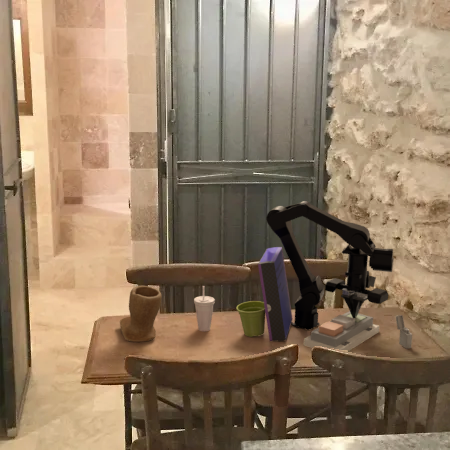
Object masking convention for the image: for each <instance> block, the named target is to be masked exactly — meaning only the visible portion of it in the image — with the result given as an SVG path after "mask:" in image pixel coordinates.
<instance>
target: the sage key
mask: <svg viewBox="0 0 450 450" xmlns="http://www.w3.org/2000/svg"><path fill="white" fill-rule="evenodd" d="M347 317H351V318H353V317H352V315H351V314H349V315H347ZM364 319H366V317H364V316H360V315H357V317H356V318H355V322H357V323H359V322H361V321H362V320H364Z"/></svg>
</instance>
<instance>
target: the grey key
mask: <svg viewBox="0 0 450 450" xmlns="http://www.w3.org/2000/svg"><path fill="white" fill-rule="evenodd" d="M331 321H332V322H333V323H337V324H340V325H343V329H346V330H347V329H349V328H350V327H352V326H354V325H355V318H351V317H347V316H343V314H339V315H337V316H335V317H332V318H331Z"/></svg>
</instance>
